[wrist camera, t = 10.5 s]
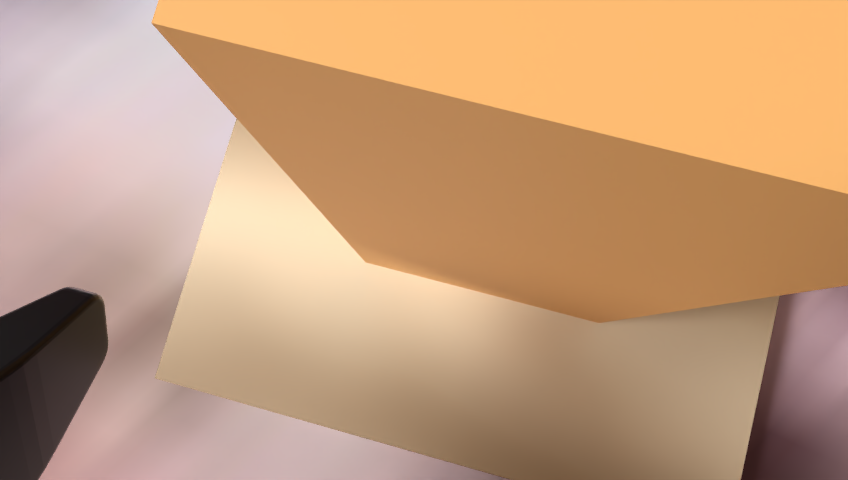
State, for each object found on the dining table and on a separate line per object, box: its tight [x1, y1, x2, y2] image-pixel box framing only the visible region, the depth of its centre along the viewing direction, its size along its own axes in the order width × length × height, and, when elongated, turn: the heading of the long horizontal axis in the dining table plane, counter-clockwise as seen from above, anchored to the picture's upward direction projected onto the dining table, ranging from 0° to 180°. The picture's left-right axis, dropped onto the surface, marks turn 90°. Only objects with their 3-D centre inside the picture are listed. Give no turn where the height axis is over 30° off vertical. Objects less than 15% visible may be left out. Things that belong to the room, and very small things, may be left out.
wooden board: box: [155, 119, 780, 480], centre depth 17 cm, size 12×12×1 cm
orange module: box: [152, 0, 848, 323], centre depth 10 cm, size 5×5×12 cm
